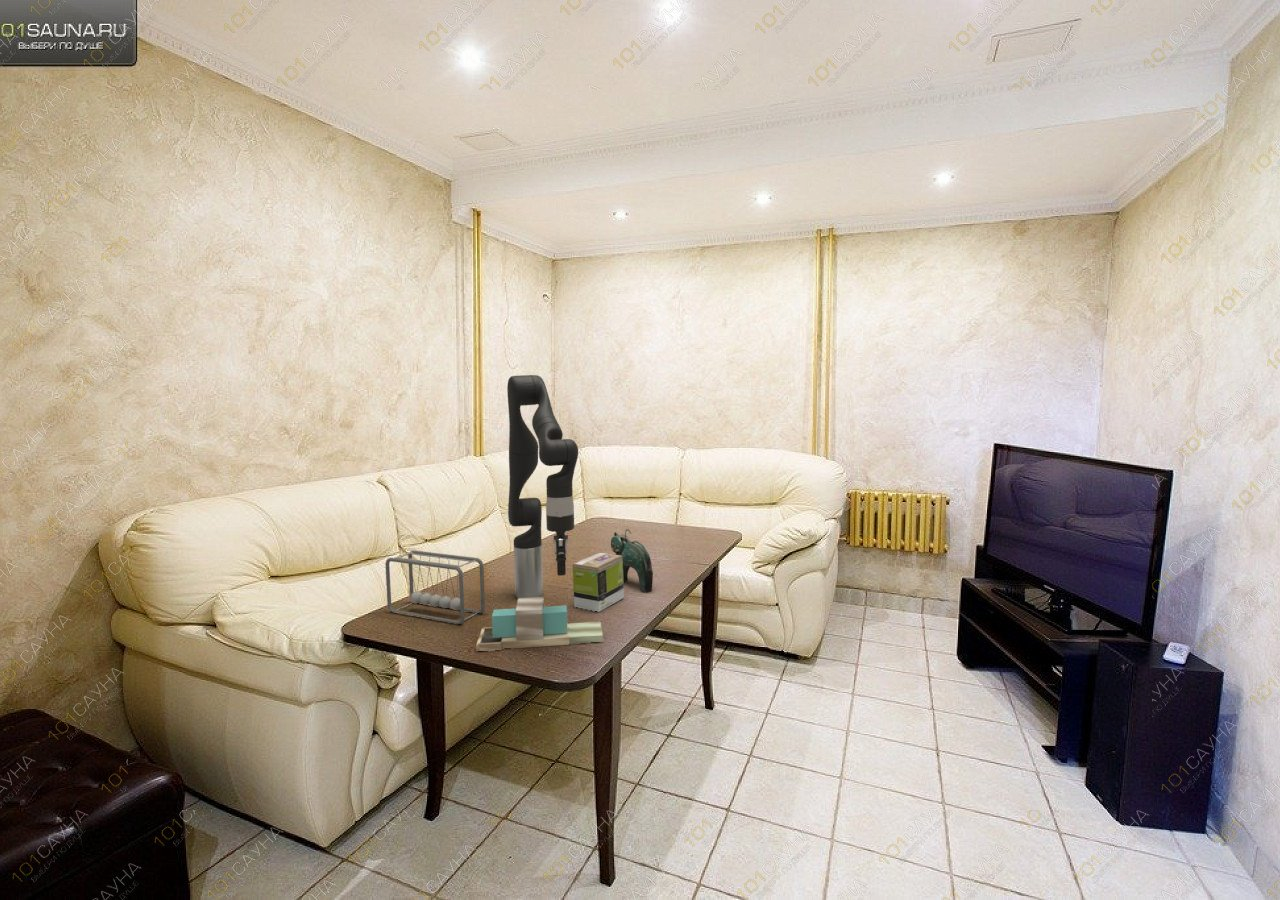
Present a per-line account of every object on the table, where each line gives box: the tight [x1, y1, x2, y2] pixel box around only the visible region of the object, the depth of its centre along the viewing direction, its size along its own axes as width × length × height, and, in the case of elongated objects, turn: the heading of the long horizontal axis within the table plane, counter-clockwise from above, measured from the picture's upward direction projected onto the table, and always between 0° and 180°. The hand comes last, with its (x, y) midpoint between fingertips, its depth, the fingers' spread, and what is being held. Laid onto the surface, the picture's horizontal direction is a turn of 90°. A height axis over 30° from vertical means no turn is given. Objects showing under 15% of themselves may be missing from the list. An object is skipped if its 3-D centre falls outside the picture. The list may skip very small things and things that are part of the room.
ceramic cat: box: [610, 528, 654, 593], centre depth 206 cm, size 20×6×20 cm, turn 37°
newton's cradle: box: [384, 549, 486, 625], centre depth 181 cm, size 30×10×18 cm, turn 66°
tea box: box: [572, 552, 625, 613], centre depth 189 cm, size 15×10×15 cm
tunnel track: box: [475, 596, 604, 652], centre depth 161 cm, size 12×33×10 cm, turn 98°
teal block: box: [491, 605, 568, 638], centre depth 161 cm, size 5×20×6 cm, turn 98°
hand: (561, 570), depth 160 cm, fingers open, 8 cm apart
